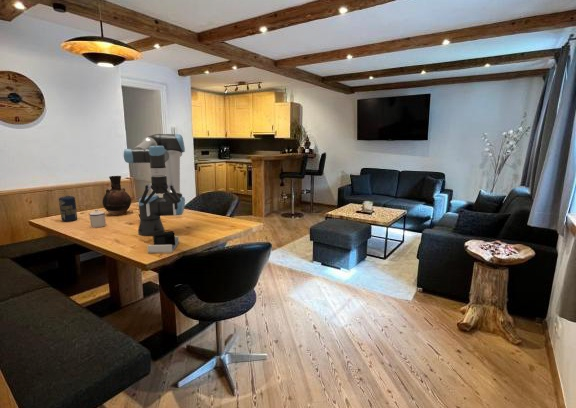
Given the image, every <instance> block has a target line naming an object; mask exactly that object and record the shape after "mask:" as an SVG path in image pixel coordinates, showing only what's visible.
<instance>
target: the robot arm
mask: <svg viewBox="0 0 576 408" xmlns="http://www.w3.org/2000/svg"><path fill="white" fill-rule="evenodd" d="M184 141H185V140H184V138H183V135H181V134H178V133H177V134H176V133H157V134H156V133H155V134H152V135H148V136H146V137H144V138H143V139H142V140H141V143H138V145H136V146H135V147H134V148H126V149H124V150H123V159H124V162H125V163H128V164H149V167H150V168H149V169H150V176H151V177H150V181H151V185H150V184H147V185H145V188H144V191H143V194H142V196H141V197H140V198H139V199H138V210H139V225H138V229H137V234H138V235H139V236H144V237H145V236H146V237H147V236H148V237H149V236H150V237H151V236H153V234H156V233H163V232H165V227H164V224H163V222H162V221H161V220H162V219H161V217H167V216H170V217H176V216H181V215H183V213H184V211H185V206H186V198H185V196H183V194H182V192H181V185H180V184H181V157H182V156H183V153H185V152H186V146H185V142H184ZM151 189H152V191H151V193H150V194H149V195H147V194H148V193H149V192H150V190H151ZM158 194H162V197H160V196H159V195H158Z"/></svg>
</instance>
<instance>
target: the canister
mask: <svg viewBox="0 0 576 408" xmlns="http://www.w3.org/2000/svg"><path fill="white" fill-rule="evenodd" d="M58 204H59V210H60V218H61V221H62V222H72V221H76V220H77V219H78V212H77V206H76V205H77V203H76V197H75V196H71V195H65V196H60V197H59V198H58Z"/></svg>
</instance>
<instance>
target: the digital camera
mask: <svg viewBox="0 0 576 408" xmlns="http://www.w3.org/2000/svg"><path fill="white" fill-rule="evenodd" d="M175 234H176V233H175V231H172V230H169V231H164V232H163V233H156V234H153V235H152V239H153V240H152V241H153V245H175V236H176V235H175Z"/></svg>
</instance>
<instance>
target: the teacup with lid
mask: <svg viewBox="0 0 576 408" xmlns="http://www.w3.org/2000/svg"><path fill="white" fill-rule="evenodd" d="M88 216H89V220H90V227H91V228H93V229H94V228H95V229H96V228H103V227H105V226H107V223H106V212H105V211H101V210H99V209H98V208H96V209H94V210H93V211H91V212H89V214H88Z"/></svg>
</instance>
